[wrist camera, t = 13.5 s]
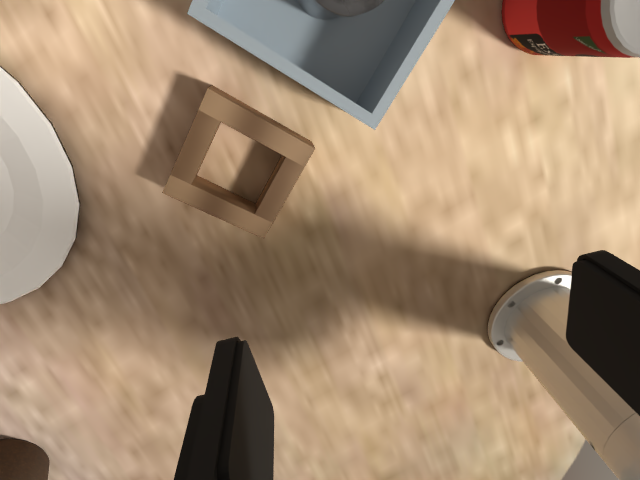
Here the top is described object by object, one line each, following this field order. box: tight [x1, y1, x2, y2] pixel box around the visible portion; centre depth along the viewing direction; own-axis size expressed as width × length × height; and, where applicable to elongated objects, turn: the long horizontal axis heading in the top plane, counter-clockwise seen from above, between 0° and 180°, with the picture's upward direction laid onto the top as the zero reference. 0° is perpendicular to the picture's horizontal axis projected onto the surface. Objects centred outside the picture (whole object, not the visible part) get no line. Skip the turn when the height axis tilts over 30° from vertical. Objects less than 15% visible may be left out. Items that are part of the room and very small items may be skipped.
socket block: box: [162, 85, 315, 239], centre depth 31 cm, size 9×9×2 cm
